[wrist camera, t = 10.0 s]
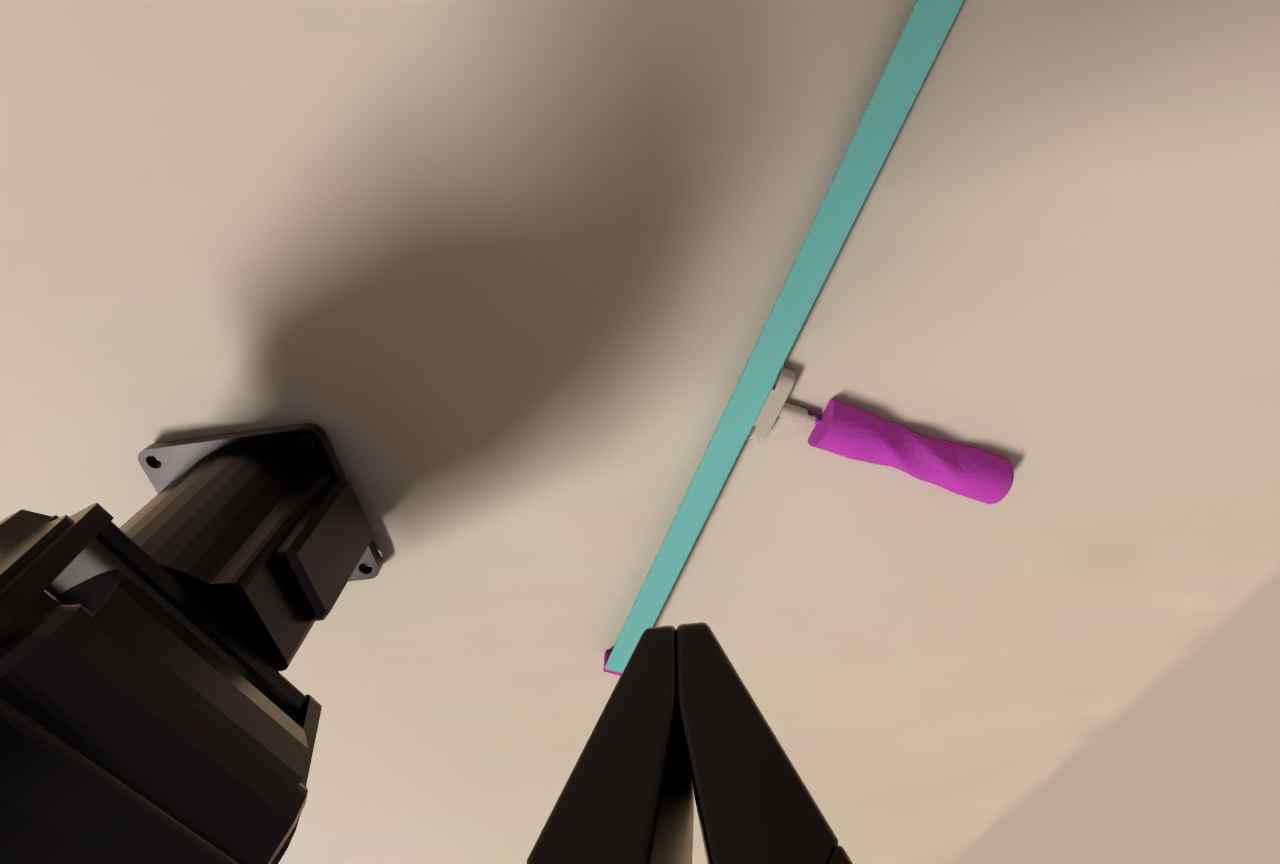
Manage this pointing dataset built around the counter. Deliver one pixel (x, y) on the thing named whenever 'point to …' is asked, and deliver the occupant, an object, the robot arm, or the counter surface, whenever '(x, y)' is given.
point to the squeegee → (764, 371)
